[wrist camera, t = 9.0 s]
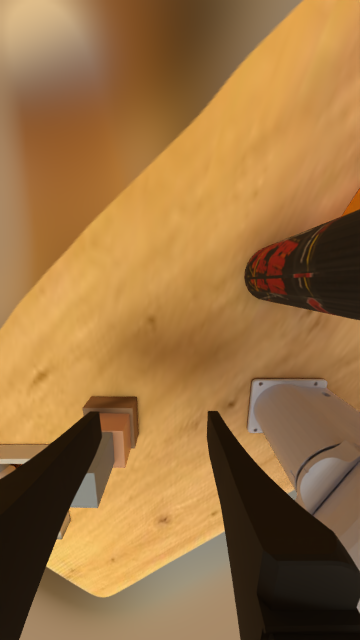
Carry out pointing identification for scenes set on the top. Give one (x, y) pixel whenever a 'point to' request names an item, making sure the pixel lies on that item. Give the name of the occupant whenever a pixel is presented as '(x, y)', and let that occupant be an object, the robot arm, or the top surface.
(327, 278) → the deodorant
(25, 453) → the grey tray rim
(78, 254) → the top surface
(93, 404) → the walnut slab
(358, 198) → the orange juice
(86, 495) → the slate cube
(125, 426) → the terracotta slab
